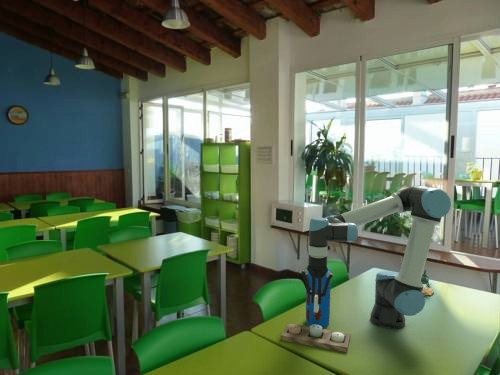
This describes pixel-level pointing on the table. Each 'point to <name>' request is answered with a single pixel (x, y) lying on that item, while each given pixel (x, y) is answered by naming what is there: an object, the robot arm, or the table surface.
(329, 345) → the board
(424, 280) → the frog figurine
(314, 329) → the button two
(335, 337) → the button one
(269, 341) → the table surface
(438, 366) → the table surface
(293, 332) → the button three
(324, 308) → the thermos
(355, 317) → the table surface
